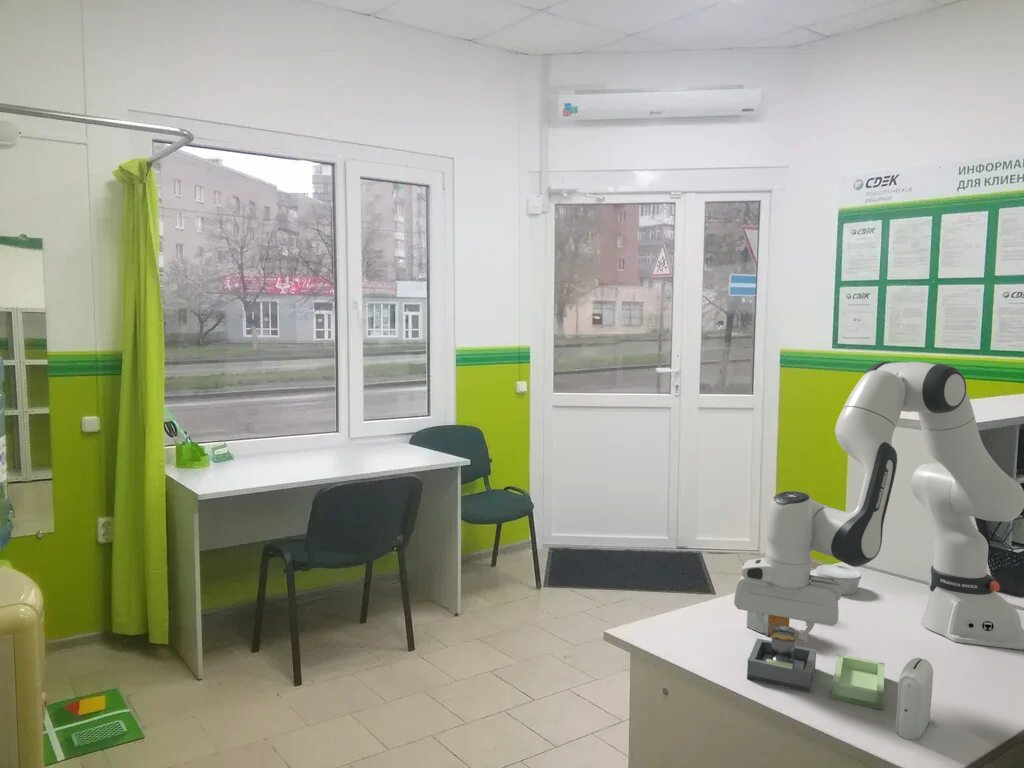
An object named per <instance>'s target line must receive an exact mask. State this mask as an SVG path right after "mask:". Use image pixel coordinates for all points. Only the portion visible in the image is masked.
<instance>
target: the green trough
mask: <svg viewBox="0 0 1024 768" xmlns="http://www.w3.org/2000/svg"><path fill="white" fill-rule="evenodd" d="M885 665H886V664H885V662H881V661H875V660H869V659H866V658H860V657H856V656H850V655H846V654H845V655H844V654H839V653H837V655H836V661H835V666H834V672H833V678H832V684H831V699H832V700H835V701H841V702H845V703H850V704H854V705H859V706H862V707H869V708H871V709H877V710H882V711H883V709H884V707H883V706H884V696H885V695H884V693H885V691H884V688H885Z"/></svg>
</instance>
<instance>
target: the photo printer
mask: <svg viewBox="0 0 1024 768" xmlns="http://www.w3.org/2000/svg"><path fill="white" fill-rule="evenodd" d="M933 681H934V668H933V665H932V664H931V662H930V661H929V660H927V659H923V658H921V657H915V658H912V659H910V660H909V661H908V662H907V663H906V664H905V665H904V666H903V668H902V671H901V673H900V676H899V680H898V689H897V701H896V702H897V705H896V717H895V719H896V720H895V733H896V734H897V735H898V736H899V737H900V738H903V739H904V740H905V739H906V740H909V741H915V740H919V739H920V737H922V735H923V734H924V732H925V730H926V729H927V727H928V724H929V722H930V718H931V712H932V710H931V709H932V696H933V684H934V683H933Z"/></svg>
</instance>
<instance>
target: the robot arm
mask: <svg viewBox="0 0 1024 768" xmlns="http://www.w3.org/2000/svg"><path fill="white" fill-rule="evenodd" d="M971 403H972V402H971V400H970V397H969V395H968V393H967V383H966V380H965V377H964V376H963V374H962V373H961V372H960V371H959V370H958V369H957V368H955V367H953V366H951V365H948V364H943V363H937V364H934V363H930V362H922V361H910V362H907V361H906V362H905V361H904V362H903V361H900V362H898V361H897V362H891V361H885V362H879V363H874V364H872V365H870V366H869V367H868V369H866V370H865V372H864V374H863V375H862V376H861V378H860V379H859V380H858V381H857V383H856V385H855V386H854V388H853V389H852V390H851V391H850V394H849V396H848V397H847V398H846V400H845V403H844V405H843V407H842V409H841V411H840V414H839V415H838V418H837V420H836V423H835V426H834V434H835V439H836V442H837V443H838V446H840V448H841V449H842V450H843V452H845V453H846V454H847V455H849V456H850V457H851V458H853V459H854V460H856V462H859V464H860V465H862V467H863V470H864V478H863V482H862V485H861V490H860V493H859V497H858V501H857V504H856V508H855V509H854V510H853V511H851V512H849V511H848V512H847V511H844V510H841V509H837V508H833V507H831V506H827V505H824V504H821V503H819V502H816V501H815V500H813V499H812V498H811V496H810V495H809V494H808V493H805V492H802V491H797V490H793V491H790V490H789V491H782V492H779V493H777V494H775V495H774V496H773V497H772V499H771V501H770V504H769V508H768V511H767V521H766V539H767V548H766V551H765V557H759V558H752V559H747V561H745V562H744V564H743V565H742V567H741V576H740V578H739V579H738V581H737V583H736V587H735V591H734V592H735V593H734V600H733V603H734V606H735V608H736V609H737V610H741V611H746V612H747V611H752V612H756V618H757V620H758V622H759V624H760V626H761V633H762V635H764V634H767V635H768V633H769V624H766V623H765V621H764V619H763V616H764V614H768V615H774V616H780V617H785V618H790V619H791V620H798V621H803V622H805V626H806V628H805V629H804V630H803V629H800V631H799V639H798V641H800V642H805V643H808V637H809V633H811V632H812V630H813V628H814V627H815V624H820V625H825V626H830V627H833V626H835V625H836V624H837V623H838V621H839V601H840V600H841V598H842V595H841V593H842V588H841V585H840V584H839V583H838V582H836V581H834V579H832V578H823V577H819V576H817V575H812V574H811V570H812V569H811V568H812V556H811V552H813V551H814V552H817V553H819V554H822V555H825V556H828V557H831V558H834V559H836V560H837V561H840V562H842V563H844V564H846V565H848V566H850V567H853V568H858V567H863V566H864V565H867V564H868V563H870V562H871V561H873V560H875V558H877V556H878V555H879V553H880V551H881V547H882V542H883V530H884V523H885V518H886V513H887V510H888V505H889V502H890V499H891V498H890V497H891V494H892V488H893V485H894V481H895V476H896V471H897V465H898V453H897V451H896V449H895V448H894V447H893V443H892V442H893V435H894V432H895V431H896V427H897V425H898V422H899V420H900V417H901V414H902V412H906V413H912V412H915V413H917V414H918V419H919V423H920V424H919V425H920V428H921V431H922V434H923V438H924V442H925V446H926V449H927V450H926V451H928V454H929V455H930V456H931V457H932V459H934V460H935V461H936V462H925V463H923V464H921V465H919V466H918V467H917V468H916V469H915V471H914V472H913V473H912V476H911V478H910V479H911V481H910V486H911V487H910V488H911V490H912V494H913V496H914V497H915V498H916V499H917V500H918V502H920V503H921V506H923V508H924V509H925V511H926V513H927V516H928V518H929V520H930V521H929V522H930V525H931V527H932V528H931V529H932V532H933V563H932V566H931V567H930V571H929V579H928V580H929V581H928V583H929V584H928V587H929V595H928V596H929V597H928V600H927V604H926V608H925V611H924V613H923V616H922V618H921V621H920V622H921V624H922V625H923V626H924V627H925V628H927V629H928V630H930V631H932V632H934V633H937V634H939V635H942V636H944V637H946V638H947V639H949V640H951V641H952V642H954V643H955V642H956V643H959V644H960V643H961V644H971V645H978V646H986V647H987V646H988V647H997V648H1005V649H1012V648H1013V650H1014V649H1015V650H1021V651H1023V650H1024V628H1023V627H1022V620H1021V618H1020V615H1019V613H1018V611H1017V609H1016V608H1015V607H1014V606H1013V605H1011V604H1010V603H1009V602H1008V601H1007V600H1006V599H1005V598H1003V597H1002V596H1001V595H1000V594H998V593H997V592H999V591H1000V590H1001V586H1000V584H999V582H998V581H997V580H996V578H995V577H994V576H992V574H988V573H987V570H988V569H987V568H988V560H989V559H988V557H989V544H988V541H987V539H986V537H985V536H984V535H983V534H982V533H981V532H980V531H979V530H978V529H977V528H976V527H975V525H974V523H973V522H972V518H971V517H973V518H975V519H980V520H983V521H987V522H988V521H991V522H1002V523H1003V522H1005V523H1007V522H1012V521H1014V520H1015V519H1017V518H1018V517H1019V516H1020V514H1022V512H1023V511H1024V488H1023V487H1022V485H1021V484H1020V483H1019V482H1018V481H1016V480H1015V479H1014V478H1013V477H1011V476H1010V475H1008V474H1007V473H1006V472H1005V471H1004V470H1003V469H1001V467H1000V466H999V465H998V464H997V462H995V460H994V459H993V458H992V456H991V455H990V454H989V452H988V451H987V449H986V447H985V445H984V443H983V441H982V438H981V435H980V432H979V428H978V424H977V421H976V417H975V414H974V409H973V406H972V404H971ZM834 583H836V584H834ZM761 633H760V634H761Z"/></svg>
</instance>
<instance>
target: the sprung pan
mask: <svg viewBox="0 0 1024 768" xmlns="http://www.w3.org/2000/svg"><path fill="white" fill-rule="evenodd" d="M767 659H771V655H769V654H765V655H764V657H763V660H762V661H766V660H767ZM804 665H805V662H804V661H799V660H794V667H796V668H801V669H804Z"/></svg>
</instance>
